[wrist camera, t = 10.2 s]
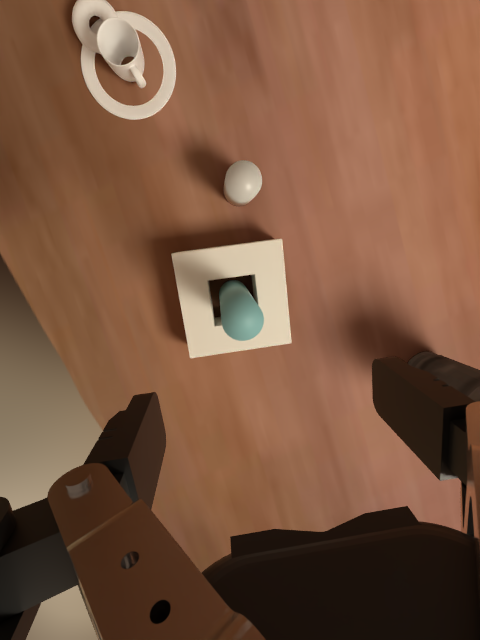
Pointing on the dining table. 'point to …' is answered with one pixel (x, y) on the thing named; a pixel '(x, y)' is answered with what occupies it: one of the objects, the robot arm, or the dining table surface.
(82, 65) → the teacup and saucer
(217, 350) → the hole block
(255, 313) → the long pin
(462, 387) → the beverage cup
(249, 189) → the short pin
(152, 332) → the dining table surface
